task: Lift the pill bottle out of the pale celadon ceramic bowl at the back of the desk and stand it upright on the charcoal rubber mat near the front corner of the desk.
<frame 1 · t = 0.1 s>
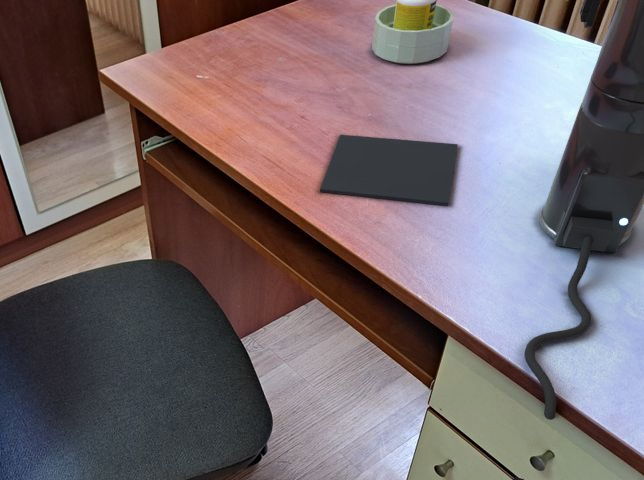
hand: (631, 26, 72), 17 cm above the table, tool pointing down, fingers open, 8 cm apart
mat: (389, 169, 88), on the table
bowl: (409, 50, 111), on the table
pill bottle: (409, 48, 111), resting on bowl
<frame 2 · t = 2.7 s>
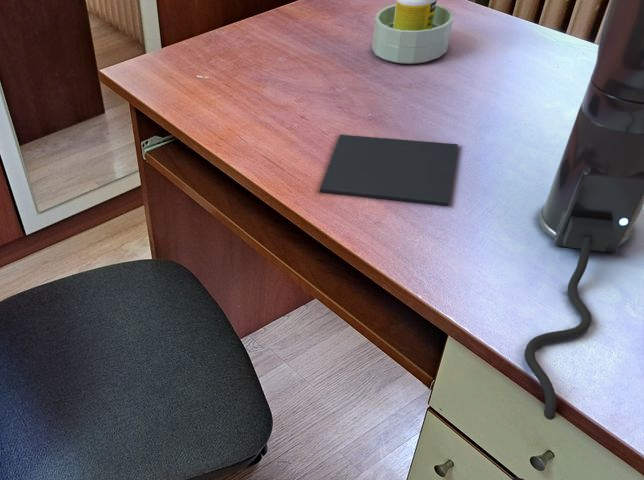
nothing on the table moved.
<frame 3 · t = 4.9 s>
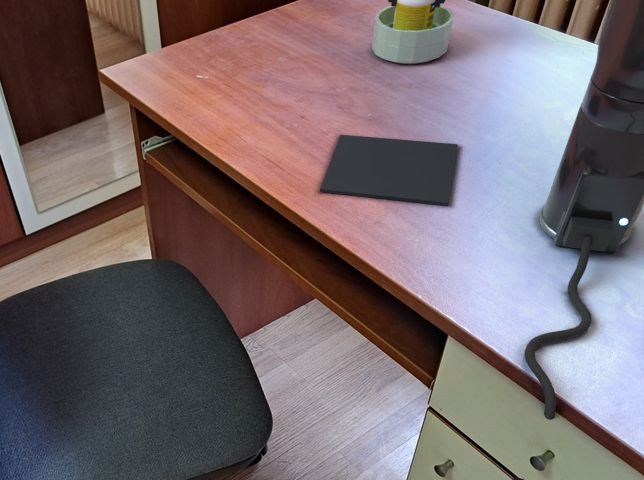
hand: (415, 4, 106), 7 cm above the table, tool pointing down, fingers closed on pill bottle, 6 cm apart
pill bottle: (409, 48, 111), resting on bowl, touching gripper
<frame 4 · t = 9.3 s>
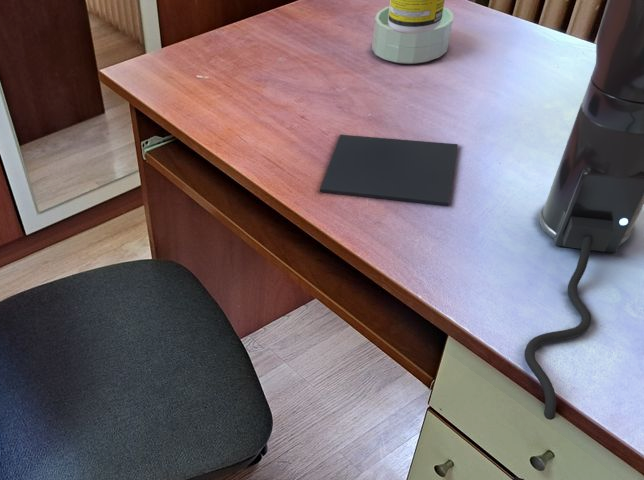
pill bottle: (413, 27, 80), point 16 cm above the table, touching gripper
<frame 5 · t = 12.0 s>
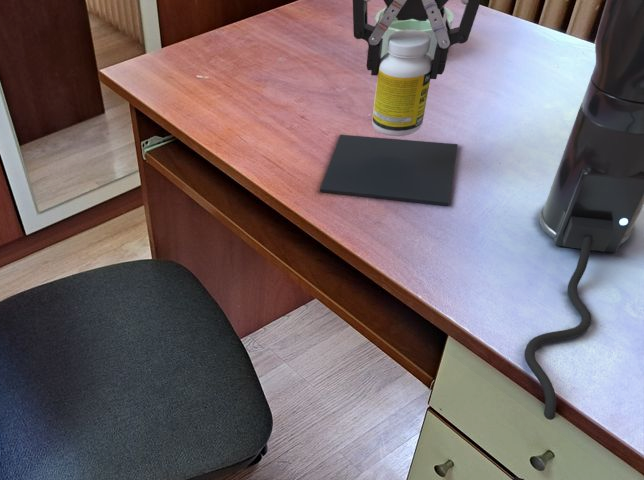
hand: (404, 74, 79), 13 cm above the table, tool pointing down, fingers closed on pill bottle, 6 cm apart
pill bottle: (396, 127, 84), point 6 cm above the table, touching gripper
when the fingers open (7 cm above the table, at t = 14.0 s): pill bottle stays where it is, resting on mat.
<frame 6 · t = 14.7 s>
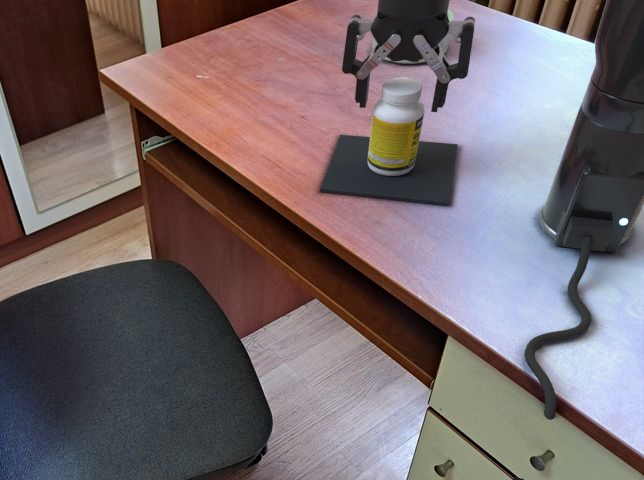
hand: (398, 107, 81), 9 cm above the table, tool pointing down, fingers open, 8 cm apart
pill bottle: (390, 166, 88), resting on mat
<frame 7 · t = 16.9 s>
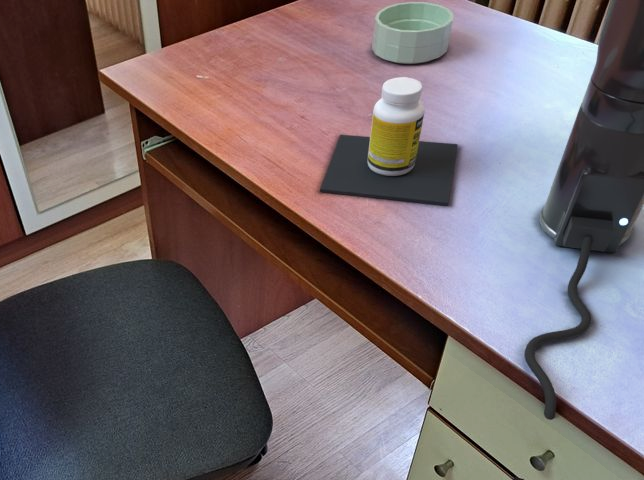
nothing on the table moved.
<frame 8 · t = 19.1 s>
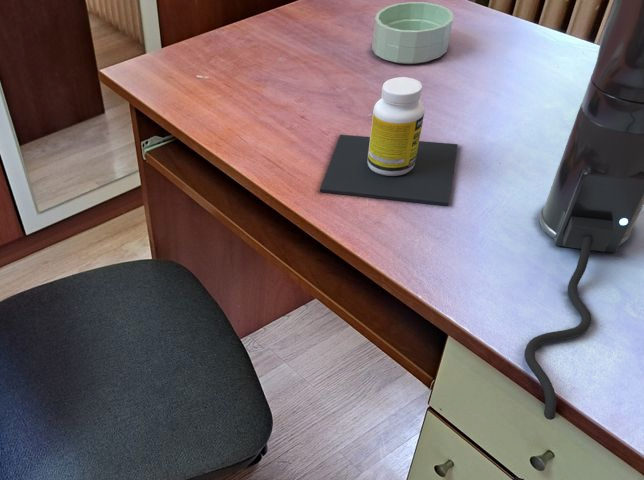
nothing on the table moved.
at the end: pill bottle inside the target area on the mat (0.2 cm from its centre), point 0.3 cm above the mat's base; pill bottle tilted 0°; pill bottle touching mat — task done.
